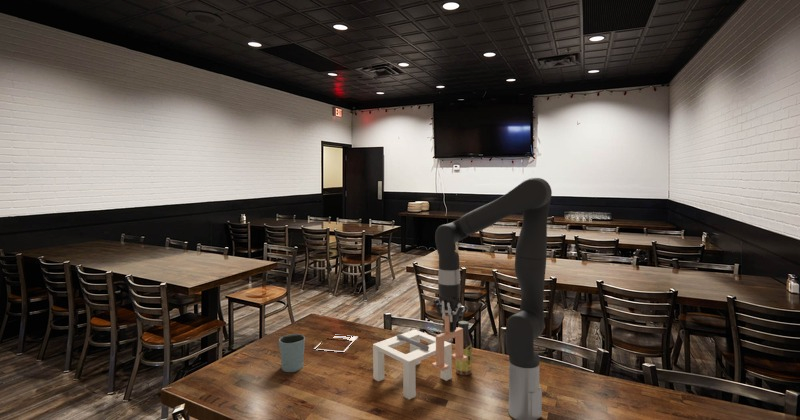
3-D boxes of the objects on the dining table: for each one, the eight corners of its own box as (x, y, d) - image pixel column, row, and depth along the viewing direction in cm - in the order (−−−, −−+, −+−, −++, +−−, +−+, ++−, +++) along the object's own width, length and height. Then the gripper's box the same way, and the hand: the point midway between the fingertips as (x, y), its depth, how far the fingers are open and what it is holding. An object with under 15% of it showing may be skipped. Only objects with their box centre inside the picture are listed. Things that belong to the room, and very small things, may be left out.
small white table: (415, 361, 167) (414, 325, 166) (451, 378, 152) (451, 339, 151) (373, 378, 152) (372, 340, 151) (409, 399, 137) (408, 357, 136)
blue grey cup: (275, 371, 159) (274, 342, 158) (287, 360, 169) (287, 332, 168) (298, 374, 157) (297, 344, 156) (310, 362, 166) (309, 334, 166)
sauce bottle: (471, 377, 153) (471, 326, 151) (455, 375, 154) (454, 325, 153) (471, 369, 159) (472, 320, 158) (456, 367, 160) (456, 319, 159)
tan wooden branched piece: (456, 355, 146) (456, 309, 145) (467, 359, 142) (467, 312, 141) (431, 366, 137) (431, 317, 136) (442, 371, 134) (442, 321, 132)
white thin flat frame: (358, 336, 193) (344, 351, 175) (358, 338, 193) (344, 354, 175) (330, 333, 196) (313, 348, 179) (330, 335, 196) (313, 351, 179)
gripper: (472, 282, 135) (472, 333, 136) (441, 276, 146) (442, 323, 147) (457, 287, 130) (458, 339, 131) (427, 279, 141) (427, 328, 142)
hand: (449, 330), depth 139 cm, fingers closed on tan wooden branched piece
